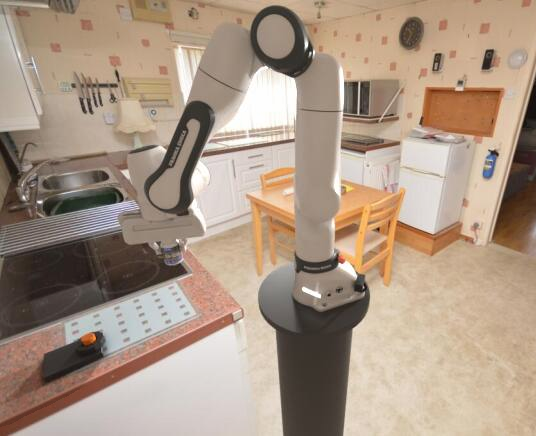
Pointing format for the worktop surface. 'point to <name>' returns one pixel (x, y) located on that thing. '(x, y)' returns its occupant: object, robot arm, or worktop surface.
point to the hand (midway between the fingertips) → (172, 252)
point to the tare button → (88, 339)
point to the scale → (72, 357)
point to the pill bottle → (171, 251)
